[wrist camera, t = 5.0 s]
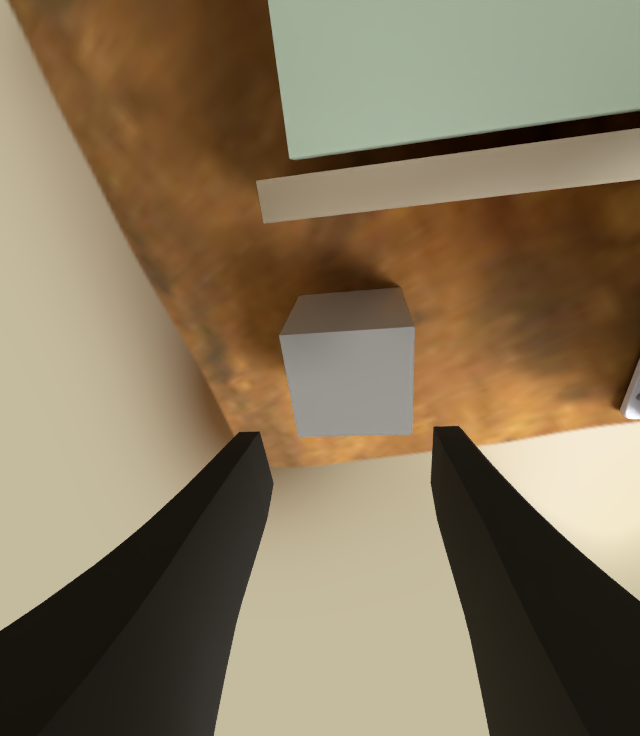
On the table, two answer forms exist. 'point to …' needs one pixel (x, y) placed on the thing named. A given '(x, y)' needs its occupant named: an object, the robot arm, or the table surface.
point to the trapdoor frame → (454, 177)
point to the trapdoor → (447, 68)
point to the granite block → (350, 363)
